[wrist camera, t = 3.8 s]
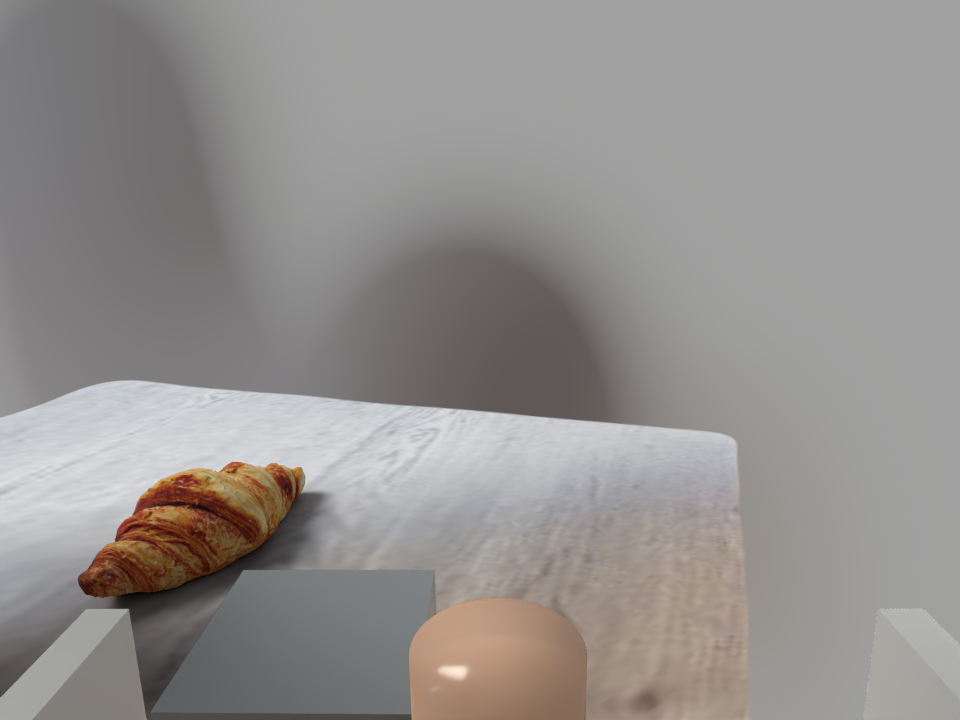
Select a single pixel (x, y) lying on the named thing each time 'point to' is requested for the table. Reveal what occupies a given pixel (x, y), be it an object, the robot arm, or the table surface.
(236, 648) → the pedestal
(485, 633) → the canister
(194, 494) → the croissant
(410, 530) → the table surface
